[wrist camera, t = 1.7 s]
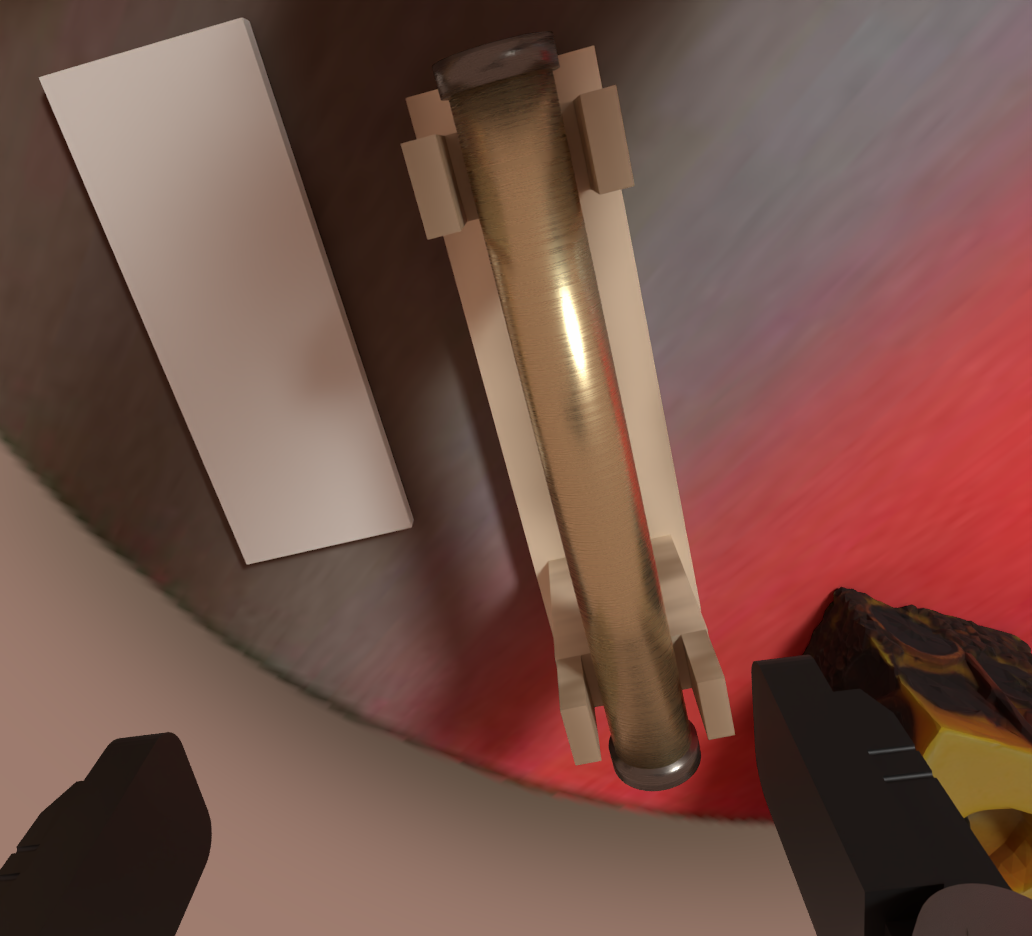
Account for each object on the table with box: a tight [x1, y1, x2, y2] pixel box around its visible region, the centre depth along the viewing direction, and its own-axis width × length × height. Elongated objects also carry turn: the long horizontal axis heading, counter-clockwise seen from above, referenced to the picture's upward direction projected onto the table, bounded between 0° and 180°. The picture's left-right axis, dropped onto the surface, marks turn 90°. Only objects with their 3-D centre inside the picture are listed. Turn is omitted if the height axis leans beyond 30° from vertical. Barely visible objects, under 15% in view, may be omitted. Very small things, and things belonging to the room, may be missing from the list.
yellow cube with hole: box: [803, 587, 1032, 899], centre depth 36 cm, size 10×10×10 cm
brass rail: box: [432, 31, 701, 791], centre depth 25 cm, size 24×3×3 cm, turn 14°
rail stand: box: [401, 46, 735, 765], centre depth 29 cm, size 7×24×12 cm, turn 14°
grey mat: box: [39, 18, 414, 565], centre depth 33 cm, size 8×21×1 cm, turn 14°
